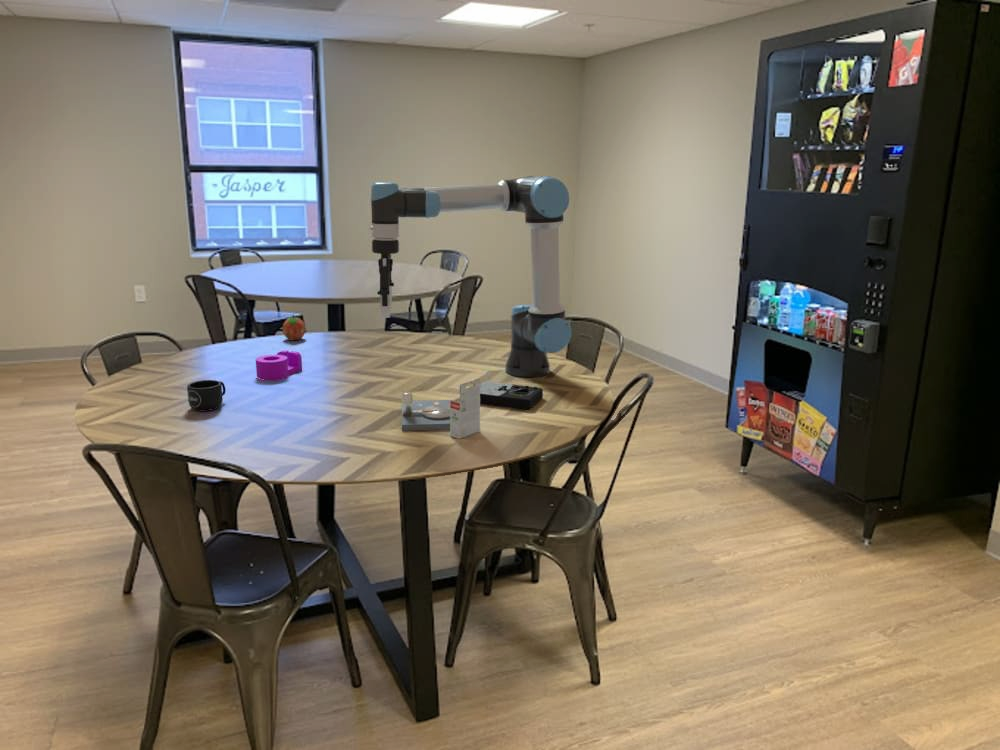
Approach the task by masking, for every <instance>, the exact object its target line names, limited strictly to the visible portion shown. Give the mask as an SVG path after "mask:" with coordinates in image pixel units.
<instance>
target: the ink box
mask: <svg viewBox="0 0 1000 750" xmlns="http://www.w3.org/2000/svg"><path fill="white" fill-rule="evenodd" d="M470 385H473V386H470ZM480 385H481V379H480V378H477V379H474V380H472V381H468V382H465V383H460V384H459V397H457V398H454V399H450V400H451V401H450V429H449V436H450V437H452V438H456V440H457V439H458V440H460V439H464V438H467V437H469V436H472V435H474V434H476V433H479V432H481V431H480V429H481V426H480V425H481V423H480V422H481V420H480V419H481V418H480V417H481V404H480ZM467 386H470V387H467Z"/></svg>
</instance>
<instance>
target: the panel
mask: <svg viewBox="0 0 1000 750" xmlns="http://www.w3.org/2000/svg"><path fill="white" fill-rule="evenodd" d="M451 400H452V399H428V400H420V399H419V400H412V410H423V409H424V408H426V407H430V406H447V407H450V401H451ZM400 403H401V404H400V405H401V408H400V409H402V400H401V402H400ZM401 430H402V432H403V431H406V432H407V431H433V430H434V431H435V430H437V431H438V430H439V431H440V430H450V418H448V419H441V420H435V419H428V418H425V417H423V416H403V415H402V414H401Z"/></svg>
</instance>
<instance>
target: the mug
mask: <svg viewBox="0 0 1000 750" xmlns="http://www.w3.org/2000/svg"><path fill="white" fill-rule="evenodd" d="M186 389H187V400H188V401H187V402H188V405H189V407H190V408H191V409H193V410H194V411H195V410H196V411H198V410H210V409H214V410H215V408H216V409H218V408H219V407H221V406H222V404H223V400H224V399H223V398H224V397H223V396H225V394H226V386H225V383H224V382H223V381H219V380H216V379H215V380H214V379H204V380H203V379H201V380H196V381H193V382H190V383H188V384H187V385H186ZM210 411H211V410H210Z"/></svg>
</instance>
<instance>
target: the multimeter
mask: <svg viewBox="0 0 1000 750" xmlns="http://www.w3.org/2000/svg"><path fill="white" fill-rule="evenodd" d="M543 397H544V392H543V388H541V387H537V386H529V385H525V386H524V385H519V384H518V385H517V384H511V383H501V382H492V381H483V382H482V383H480V406H489V407H498V408H503V409H504V408H506V409H512V410H520V411H526V410H530V409H531V408H532V409H533V408H534V407H535V406H537V404H539V402H540V400H541V399H542V400H543ZM542 400H541V401H542ZM533 406H534V407H533ZM532 409H531V410H532ZM531 410H530V411H531Z"/></svg>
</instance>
